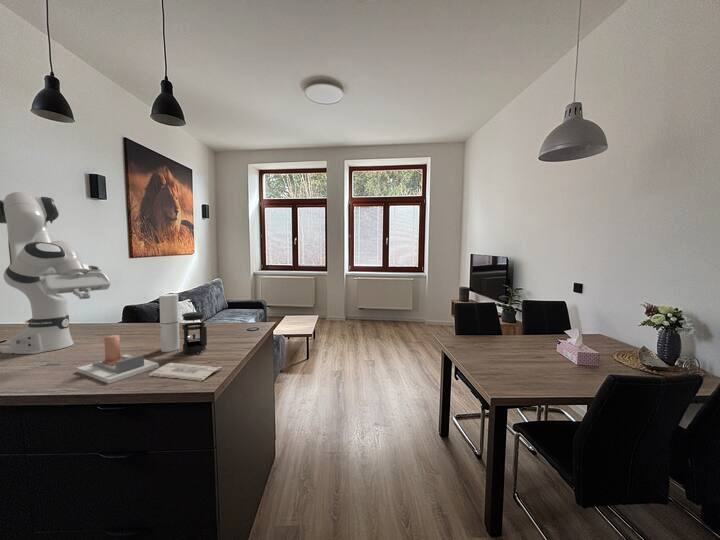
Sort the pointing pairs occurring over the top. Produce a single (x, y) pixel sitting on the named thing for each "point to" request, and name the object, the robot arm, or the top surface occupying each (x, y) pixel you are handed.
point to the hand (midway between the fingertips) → (85, 297)
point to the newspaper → (184, 371)
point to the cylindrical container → (169, 322)
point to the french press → (194, 345)
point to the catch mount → (118, 368)
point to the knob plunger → (112, 350)
